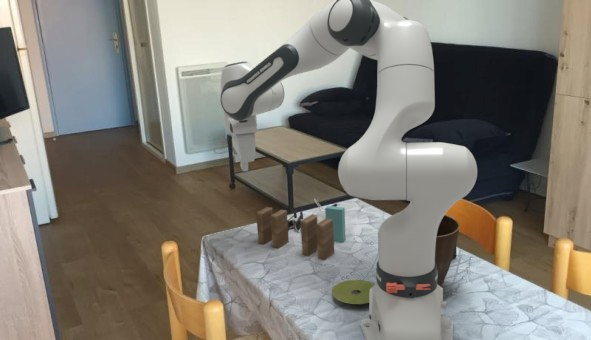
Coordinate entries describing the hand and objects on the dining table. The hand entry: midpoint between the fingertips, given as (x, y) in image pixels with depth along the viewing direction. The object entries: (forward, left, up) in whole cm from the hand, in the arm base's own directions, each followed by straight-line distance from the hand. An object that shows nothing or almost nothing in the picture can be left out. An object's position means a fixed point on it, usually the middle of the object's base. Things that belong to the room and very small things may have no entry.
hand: (244, 169), depth 161 cm
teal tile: (-2, -25, -21) cm, 33 cm away
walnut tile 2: (-5, -10, -21) cm, 24 cm away
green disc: (-35, -30, -21) cm, 51 cm away
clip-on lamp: (+18, -23, -18) cm, 34 cm away
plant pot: (-30, -46, -21) cm, 59 cm away
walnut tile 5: (-13, -23, -21) cm, 34 cm away
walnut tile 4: (-10, -18, -21) cm, 30 cm away
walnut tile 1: (-3, -5, -21) cm, 22 cm away
